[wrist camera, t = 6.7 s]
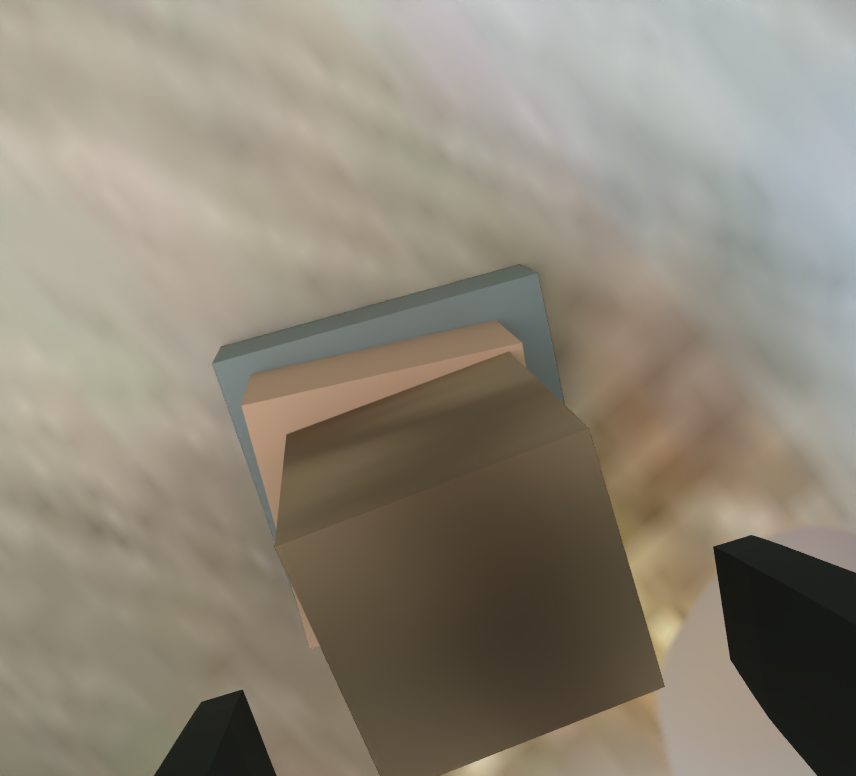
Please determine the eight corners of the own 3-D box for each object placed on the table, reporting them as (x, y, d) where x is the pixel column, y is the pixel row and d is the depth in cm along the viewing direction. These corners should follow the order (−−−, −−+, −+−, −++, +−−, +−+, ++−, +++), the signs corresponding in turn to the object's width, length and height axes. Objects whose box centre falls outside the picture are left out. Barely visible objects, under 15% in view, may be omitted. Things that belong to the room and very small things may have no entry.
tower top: (310, 591, 20) (309, 649, 18) (250, 374, 18) (241, 405, 16) (532, 536, 20) (560, 585, 18) (495, 320, 19) (521, 342, 16)
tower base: (311, 594, 23) (311, 644, 20) (224, 340, 20) (212, 363, 18) (567, 517, 23) (596, 557, 21) (512, 260, 21) (537, 273, 18)
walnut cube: (368, 625, 18) (389, 795, 13) (286, 434, 16) (274, 547, 11) (571, 547, 18) (665, 686, 13) (508, 351, 16) (588, 427, 12)
